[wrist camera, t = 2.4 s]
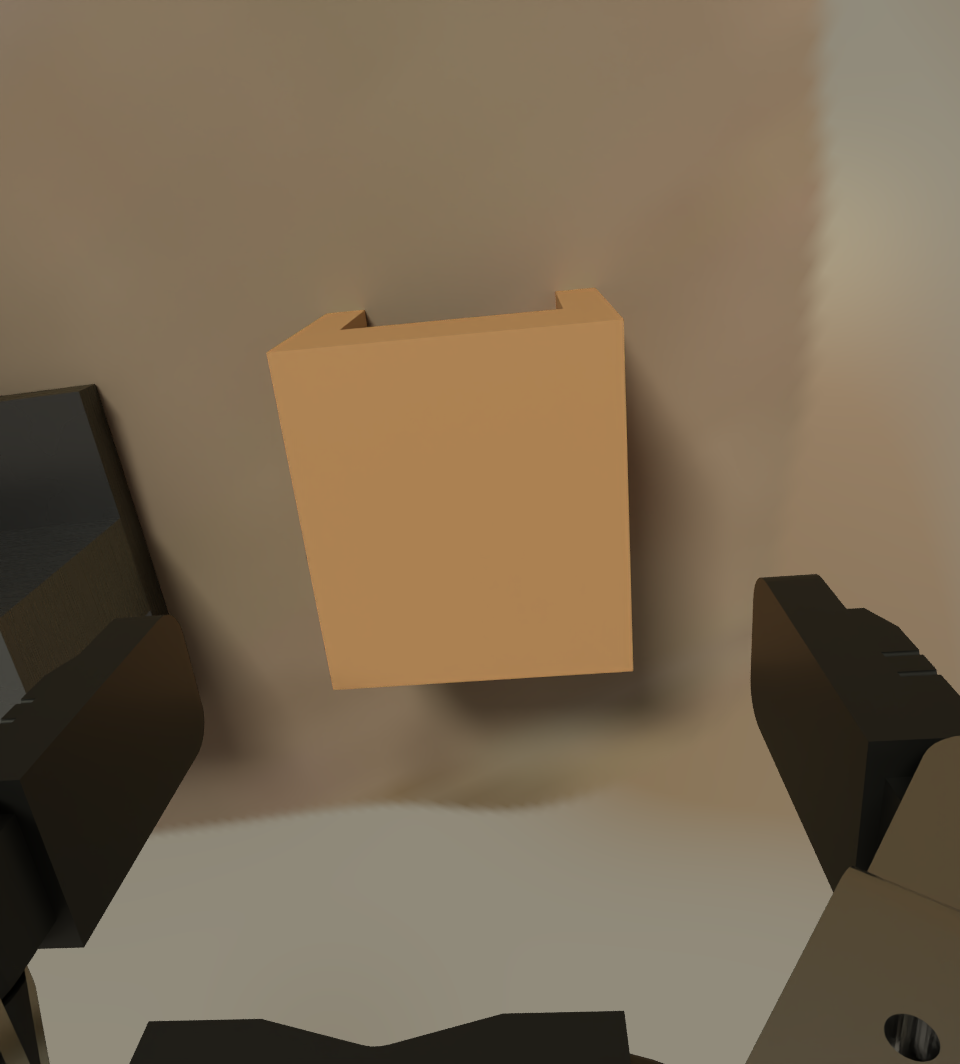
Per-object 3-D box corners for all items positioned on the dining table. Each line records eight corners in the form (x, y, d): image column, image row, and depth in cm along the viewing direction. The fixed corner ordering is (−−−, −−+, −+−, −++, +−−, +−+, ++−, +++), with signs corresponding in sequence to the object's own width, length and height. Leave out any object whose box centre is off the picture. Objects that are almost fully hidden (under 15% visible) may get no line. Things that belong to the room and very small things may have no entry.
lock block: (606, 565, 21) (633, 670, 16) (371, 582, 21) (333, 689, 17) (595, 287, 18) (624, 318, 14) (326, 313, 19) (266, 353, 14)
